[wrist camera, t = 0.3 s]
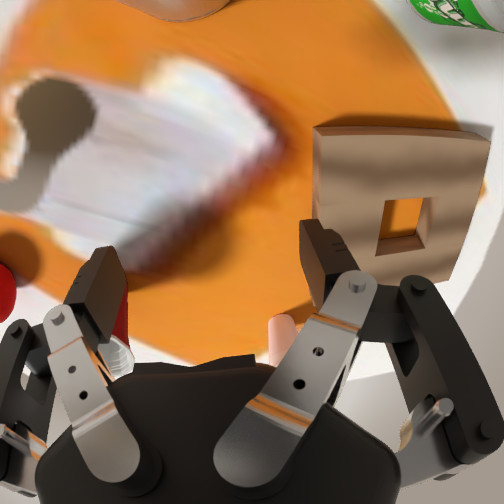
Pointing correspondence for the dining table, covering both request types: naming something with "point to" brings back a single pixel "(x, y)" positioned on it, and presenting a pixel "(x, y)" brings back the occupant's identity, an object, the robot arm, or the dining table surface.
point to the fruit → (6, 293)
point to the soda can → (462, 13)
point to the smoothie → (280, 337)
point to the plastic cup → (119, 343)
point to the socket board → (398, 194)
